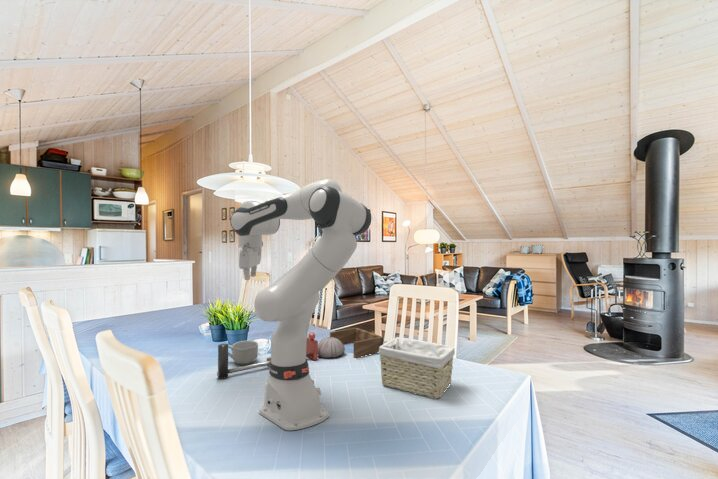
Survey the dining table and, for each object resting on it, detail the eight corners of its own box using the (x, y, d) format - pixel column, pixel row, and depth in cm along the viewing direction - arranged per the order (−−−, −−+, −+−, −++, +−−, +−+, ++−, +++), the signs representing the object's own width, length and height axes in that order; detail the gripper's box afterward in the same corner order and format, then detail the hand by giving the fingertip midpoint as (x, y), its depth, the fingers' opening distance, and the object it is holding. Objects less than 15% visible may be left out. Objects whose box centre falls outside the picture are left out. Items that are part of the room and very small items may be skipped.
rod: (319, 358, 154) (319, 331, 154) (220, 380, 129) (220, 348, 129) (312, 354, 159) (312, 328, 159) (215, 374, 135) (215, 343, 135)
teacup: (261, 358, 155) (262, 340, 155) (252, 367, 144) (252, 348, 144) (231, 357, 156) (231, 339, 156) (219, 366, 146) (219, 347, 146)
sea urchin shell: (310, 358, 157) (310, 340, 157) (323, 349, 170) (323, 332, 170) (337, 361, 152) (338, 343, 152) (348, 352, 165) (348, 335, 165)
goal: (383, 351, 165) (383, 337, 165) (355, 358, 156) (355, 342, 156) (356, 340, 183) (356, 327, 183) (329, 346, 174) (330, 332, 174)
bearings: (305, 362, 150) (305, 355, 150) (272, 370, 142) (272, 362, 142) (299, 358, 155) (299, 351, 155) (266, 365, 147) (266, 357, 147)
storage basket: (456, 386, 127) (456, 345, 127) (441, 403, 113) (441, 358, 113) (396, 372, 140) (396, 335, 140) (376, 387, 126) (377, 346, 126)
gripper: (252, 244, 127) (252, 281, 128) (263, 242, 148) (263, 274, 148) (234, 243, 127) (234, 281, 127) (248, 242, 147) (248, 274, 148)
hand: (250, 278), depth 138 cm, fingers open, 8 cm apart
